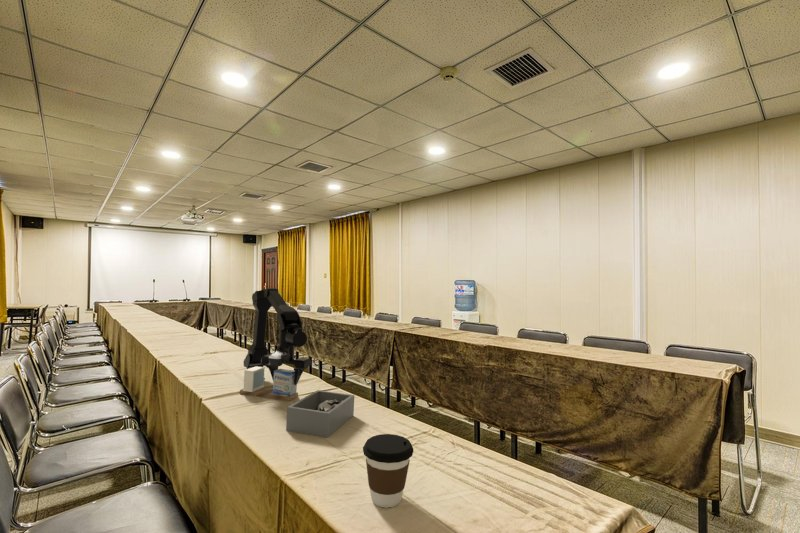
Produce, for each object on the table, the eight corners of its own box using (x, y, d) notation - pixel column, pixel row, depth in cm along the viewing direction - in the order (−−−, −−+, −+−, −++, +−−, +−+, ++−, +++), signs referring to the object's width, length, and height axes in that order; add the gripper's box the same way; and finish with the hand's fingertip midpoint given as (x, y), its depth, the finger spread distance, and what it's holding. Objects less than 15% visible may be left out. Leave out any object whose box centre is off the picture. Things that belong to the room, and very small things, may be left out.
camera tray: (286, 430, 116) (287, 407, 116) (316, 410, 134) (317, 390, 134) (327, 437, 112) (328, 413, 112) (353, 415, 130) (354, 395, 130)
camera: (324, 417, 128) (324, 390, 128) (345, 420, 125) (345, 393, 125) (302, 434, 116) (301, 405, 116) (324, 439, 113) (323, 409, 113)
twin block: (243, 390, 148) (244, 370, 148) (255, 386, 154) (256, 366, 154) (252, 392, 146) (253, 371, 147) (264, 387, 153) (265, 367, 153)
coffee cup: (410, 486, 88) (412, 433, 88) (413, 516, 77) (415, 455, 77) (362, 485, 87) (364, 432, 88) (358, 515, 76) (361, 454, 77)
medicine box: (272, 393, 145) (273, 370, 146) (279, 390, 150) (280, 368, 150) (290, 396, 143) (291, 372, 143) (296, 392, 147) (297, 370, 148)
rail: (239, 393, 149) (240, 389, 149) (249, 389, 154) (250, 385, 154) (289, 401, 142) (289, 396, 142) (297, 396, 148) (298, 392, 148)
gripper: (252, 343, 142) (250, 386, 141) (297, 348, 137) (294, 392, 136) (271, 339, 152) (269, 378, 152) (312, 343, 147) (310, 384, 147)
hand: (285, 383), depth 146 cm, fingers open, 9 cm apart
